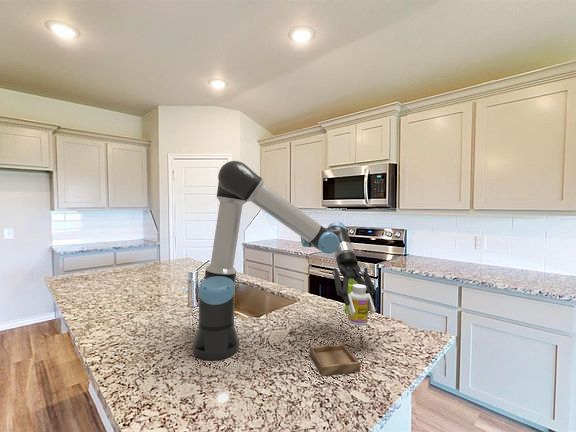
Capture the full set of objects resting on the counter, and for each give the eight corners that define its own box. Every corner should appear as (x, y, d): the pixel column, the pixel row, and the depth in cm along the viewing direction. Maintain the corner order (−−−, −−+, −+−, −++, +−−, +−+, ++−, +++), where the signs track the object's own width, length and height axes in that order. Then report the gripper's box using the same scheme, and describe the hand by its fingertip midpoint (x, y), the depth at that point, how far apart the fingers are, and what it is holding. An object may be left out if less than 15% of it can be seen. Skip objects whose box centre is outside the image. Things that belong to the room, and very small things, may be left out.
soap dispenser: (360, 315, 133) (361, 271, 132) (344, 313, 134) (346, 270, 133) (360, 310, 139) (361, 268, 138) (345, 309, 140) (346, 267, 139)
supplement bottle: (356, 327, 99) (358, 289, 98) (344, 320, 104) (345, 284, 104) (371, 324, 102) (373, 287, 101) (358, 317, 108) (360, 282, 107)
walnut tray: (322, 375, 86) (322, 367, 86) (309, 354, 97) (309, 347, 97) (360, 371, 88) (360, 363, 88) (343, 351, 100) (343, 344, 100)
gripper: (364, 261, 120) (384, 316, 104) (318, 262, 115) (332, 319, 100) (372, 250, 114) (394, 307, 99) (324, 250, 110) (339, 309, 95)
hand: (363, 313), depth 99 cm, fingers closed on supplement bottle, 7 cm apart
